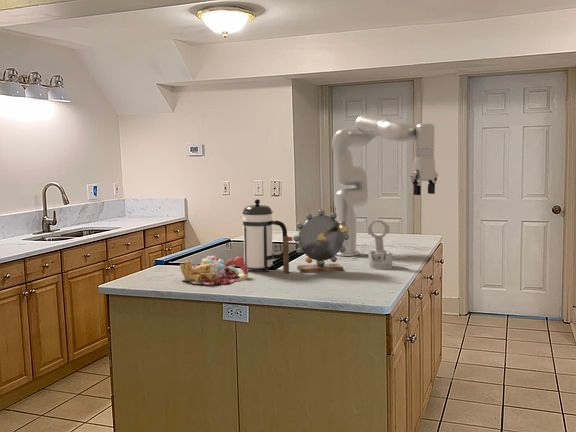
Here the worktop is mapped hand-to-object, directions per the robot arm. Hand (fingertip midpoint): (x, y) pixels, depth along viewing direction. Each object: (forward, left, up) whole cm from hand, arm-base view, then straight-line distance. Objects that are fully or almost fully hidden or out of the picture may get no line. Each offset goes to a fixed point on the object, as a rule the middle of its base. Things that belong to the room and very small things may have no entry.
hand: (424, 194), depth 250 cm
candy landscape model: (-44, -77, -32) cm, 94 cm away
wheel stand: (-29, -38, -31) cm, 57 cm away
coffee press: (-45, -52, -31) cm, 76 cm away
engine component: (-14, -12, -32) cm, 36 cm away
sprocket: (-21, -38, -29) cm, 52 cm away
